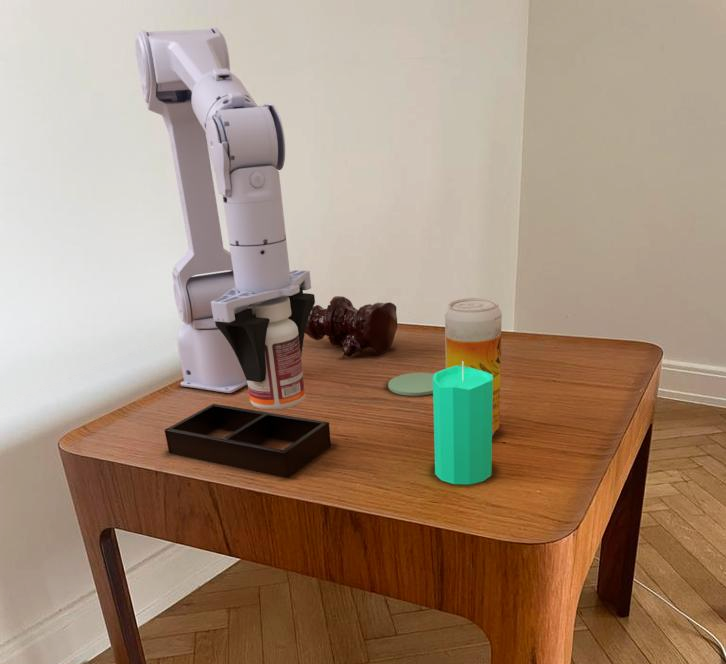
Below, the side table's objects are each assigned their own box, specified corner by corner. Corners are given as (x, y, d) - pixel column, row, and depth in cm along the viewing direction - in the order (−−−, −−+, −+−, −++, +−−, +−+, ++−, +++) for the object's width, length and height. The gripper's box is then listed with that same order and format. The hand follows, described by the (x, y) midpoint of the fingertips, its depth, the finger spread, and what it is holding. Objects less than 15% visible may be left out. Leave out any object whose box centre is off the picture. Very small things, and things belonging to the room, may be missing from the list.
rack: (168, 453, 87) (164, 429, 86) (217, 425, 94) (213, 403, 93) (287, 478, 80) (284, 452, 78) (331, 446, 86) (329, 422, 85)
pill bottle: (306, 389, 86) (296, 290, 80) (304, 409, 80) (293, 304, 75) (253, 393, 86) (239, 294, 80) (247, 413, 80) (232, 309, 75)
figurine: (390, 377, 116) (295, 367, 125) (409, 319, 119) (315, 313, 127) (364, 345, 108) (265, 337, 117) (385, 284, 110) (286, 281, 119)
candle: (430, 462, 81) (427, 355, 75) (485, 456, 81) (486, 349, 75) (440, 487, 75) (437, 374, 70) (498, 481, 76) (500, 368, 70)
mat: (377, 391, 101) (377, 388, 101) (404, 373, 107) (404, 370, 107) (431, 399, 97) (431, 395, 97) (455, 379, 103) (455, 376, 103)
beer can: (498, 443, 84) (500, 310, 77) (444, 441, 85) (441, 311, 78) (500, 422, 89) (502, 296, 82) (449, 421, 90) (447, 297, 84)
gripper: (245, 256, 68) (263, 397, 74) (329, 229, 78) (339, 354, 85) (186, 254, 71) (209, 389, 77) (275, 228, 82) (288, 348, 88)
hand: (273, 370), depth 81 cm, fingers closed on pill bottle, 6 cm apart
